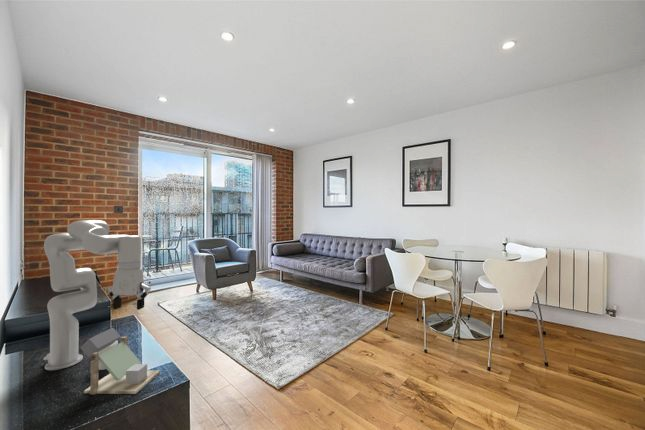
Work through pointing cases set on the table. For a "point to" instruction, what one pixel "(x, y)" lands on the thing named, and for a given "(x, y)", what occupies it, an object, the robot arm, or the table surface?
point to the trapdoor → (111, 353)
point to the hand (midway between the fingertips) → (128, 308)
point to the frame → (109, 383)
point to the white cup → (101, 366)
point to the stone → (136, 374)
